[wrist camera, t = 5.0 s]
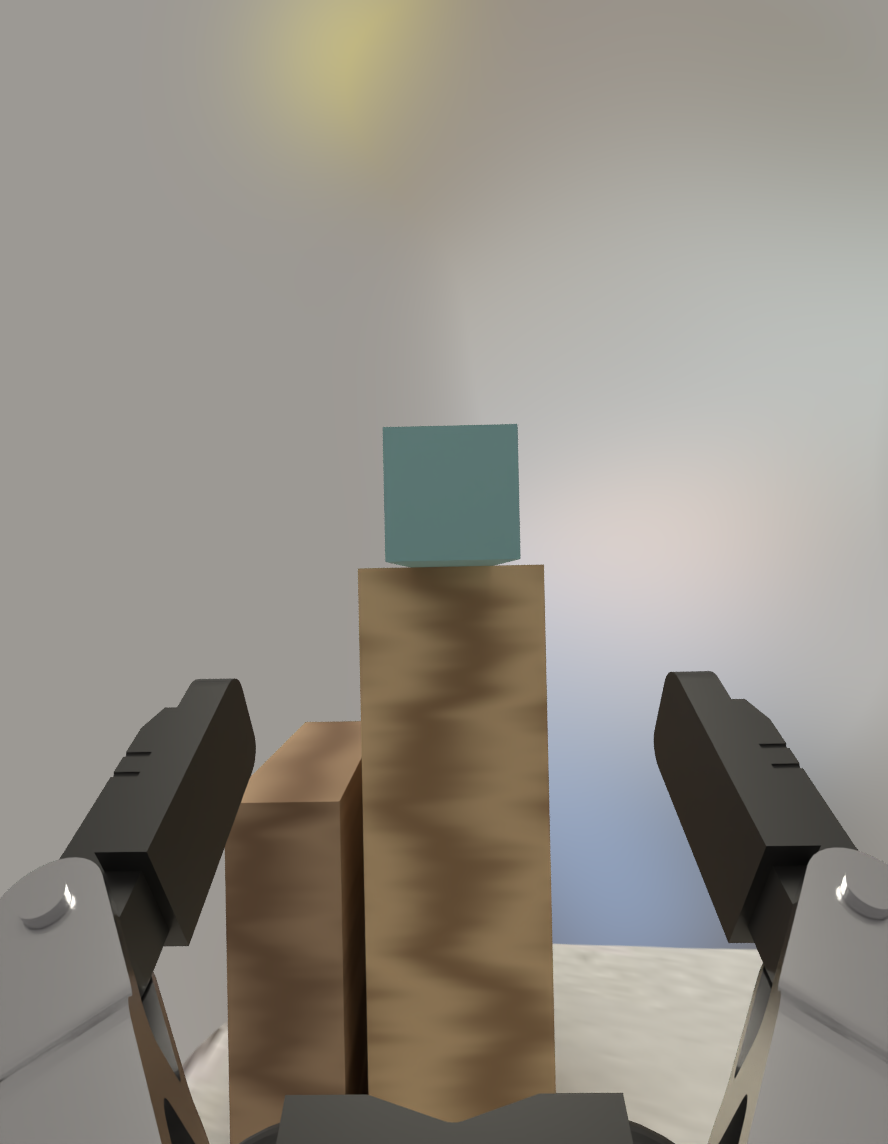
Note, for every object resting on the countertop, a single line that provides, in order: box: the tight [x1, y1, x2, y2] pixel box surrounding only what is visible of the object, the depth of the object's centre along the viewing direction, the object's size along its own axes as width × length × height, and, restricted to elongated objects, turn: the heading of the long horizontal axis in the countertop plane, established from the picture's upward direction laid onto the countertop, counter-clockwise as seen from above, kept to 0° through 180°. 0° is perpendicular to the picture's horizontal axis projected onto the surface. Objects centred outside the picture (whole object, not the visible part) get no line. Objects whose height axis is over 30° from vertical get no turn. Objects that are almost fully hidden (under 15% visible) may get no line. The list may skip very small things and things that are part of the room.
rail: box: [383, 424, 520, 568], centre depth 27 cm, size 4×24×4 cm, turn 0°
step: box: [225, 721, 369, 1144], centre depth 32 cm, size 5×14×22 cm, turn 179°
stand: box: [358, 565, 556, 1122], centre depth 32 cm, size 8×14×32 cm, turn 179°
